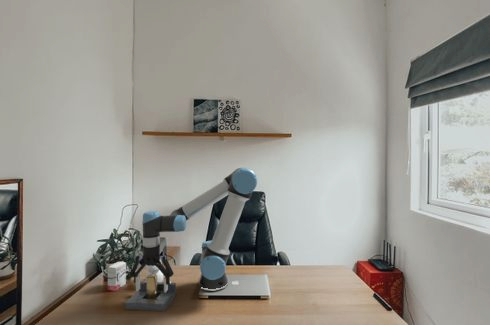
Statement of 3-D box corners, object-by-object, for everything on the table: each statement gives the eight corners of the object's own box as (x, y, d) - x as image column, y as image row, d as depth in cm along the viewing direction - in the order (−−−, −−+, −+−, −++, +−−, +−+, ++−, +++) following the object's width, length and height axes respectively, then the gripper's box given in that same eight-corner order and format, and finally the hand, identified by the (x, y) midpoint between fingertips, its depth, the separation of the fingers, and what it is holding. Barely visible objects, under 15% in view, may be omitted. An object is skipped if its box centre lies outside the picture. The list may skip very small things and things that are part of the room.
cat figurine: (143, 289, 138) (142, 260, 138) (149, 278, 151) (149, 251, 150) (161, 288, 139) (160, 259, 139) (166, 277, 151) (165, 251, 151)
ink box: (115, 291, 136) (115, 267, 136) (107, 290, 137) (106, 267, 137) (126, 283, 144) (126, 261, 144) (118, 283, 145) (118, 261, 145)
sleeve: (158, 299, 127) (158, 274, 127) (154, 304, 123) (154, 278, 123) (149, 299, 128) (149, 273, 128) (144, 304, 123) (144, 278, 123)
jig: (176, 295, 131) (175, 281, 131) (164, 310, 117) (164, 295, 117) (140, 293, 133) (140, 280, 133) (125, 309, 119) (125, 293, 119)
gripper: (180, 243, 128) (180, 287, 128) (130, 242, 130) (130, 285, 130) (174, 248, 120) (174, 295, 120) (121, 247, 123) (122, 293, 123)
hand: (151, 290), depth 125 cm, fingers open, 13 cm apart
